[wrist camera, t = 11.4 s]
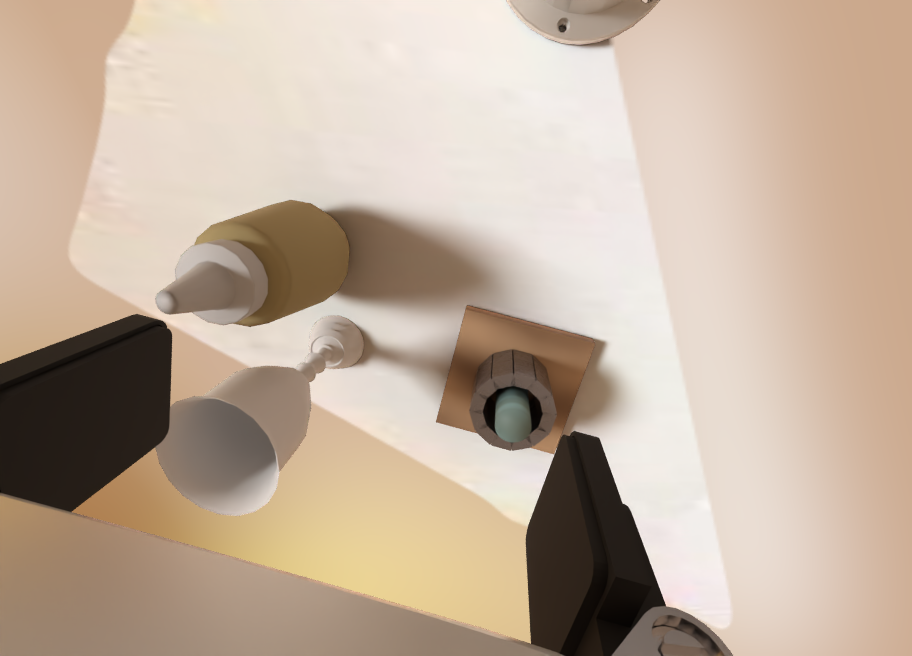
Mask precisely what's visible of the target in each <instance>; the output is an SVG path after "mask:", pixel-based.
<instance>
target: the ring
mask: <svg viewBox="0 0 912 656" xmlns="http://www.w3.org/2000/svg"><path fill="white" fill-rule="evenodd" d="M510 386H516V387H520V388H524V389H527V390H529V391H530V392H531V393H532V394H533V395H534V396H535V397H534V398H533V399H532V400H531V401H530V402H529V408H530V417H531V432H530V434H529V435H528V437H527V438H526V439H524V440H522V441H520V442H507V441H505V440H503V439H501V438H500V437H499V436H498V434H497V433H496V430H495V411H496V402H495V401H494V400H492V399H491V398H490V397H489V396H490V395H491V394H493V393H494V392H495V391H496V390H497V389H500V388H505V387H510ZM469 413H470V416H471V420H472V423H473V426H474V430H475V431H476V432H477V433H478V434H479V435H480V436H481V437H482V438H483V439H484V440H485V441H487V442H488V443H489V444H491V445H492V446H496V447H499V448H503V449H506V450H510V451H511V449H512V451H514V450H519V449H525V448H530V447H532V445H533V446H535V445H536V444H538V443H539V442H540V441H541V440H543V439H544V438H545V437H547V436H548V435H549V433H550V432H551V430H552V427H553V424H554V422H555V419H556V416H557V412H556V408H555V403H554V398H553V394H552V389H551V385H550V381H549V377H548V372H547V369H546V367H545V366H544V365H543V364H542V363H541V362H540V361H539V360H538V359H537V358H536V357H535V356H534V355H532V354H530V353H526V352H523V351H519V350H515V349H513V351H512V349H510V350H505V351H501V352H496V353H493V354H491V355H490V356H489V357H488V358H487V359H486V360H485V361H484V362H483V363H481V364H480V365H479V367H478V369H477V373H476V376H475V380H474V383H473V390H472V396H471V402H470V409H469Z"/></svg>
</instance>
